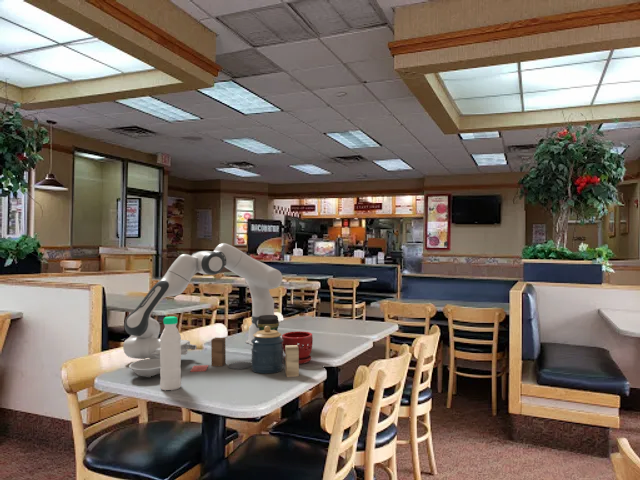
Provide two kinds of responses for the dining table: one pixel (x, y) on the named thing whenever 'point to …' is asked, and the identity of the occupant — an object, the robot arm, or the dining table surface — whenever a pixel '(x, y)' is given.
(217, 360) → the walnut block
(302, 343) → the plant pot
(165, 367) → the water bottle
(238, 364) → the slate coaster
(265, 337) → the canister
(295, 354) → the maple block
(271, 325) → the coffee jar
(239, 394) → the dining table surface
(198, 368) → the menu card
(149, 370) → the dish
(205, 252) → the robot arm
